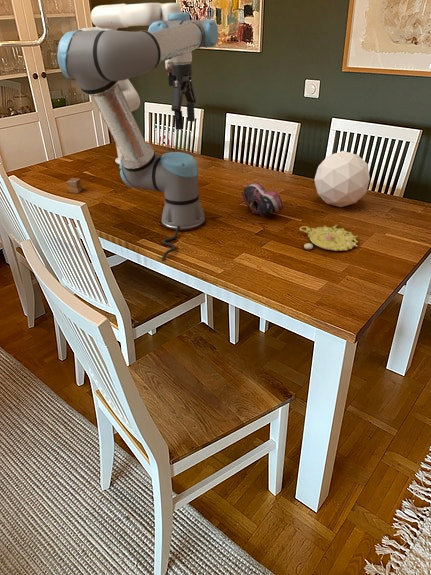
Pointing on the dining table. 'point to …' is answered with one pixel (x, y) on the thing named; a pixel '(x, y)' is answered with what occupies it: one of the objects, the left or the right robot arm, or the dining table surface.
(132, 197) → the dining table surface
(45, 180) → the dining table surface
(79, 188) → the block
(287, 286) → the dining table surface
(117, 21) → the left robot arm
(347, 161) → the sphere
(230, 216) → the dining table surface
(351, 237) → the decorative object
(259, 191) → the athletic shoe
